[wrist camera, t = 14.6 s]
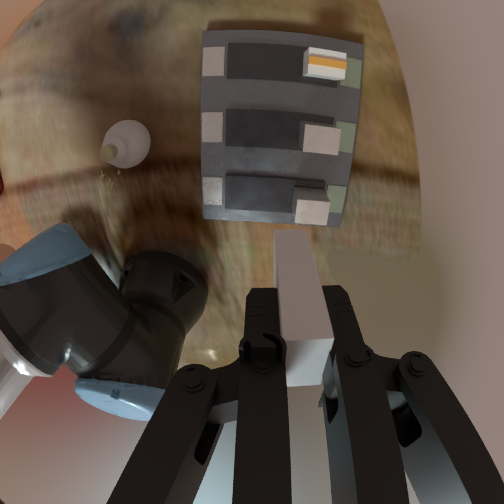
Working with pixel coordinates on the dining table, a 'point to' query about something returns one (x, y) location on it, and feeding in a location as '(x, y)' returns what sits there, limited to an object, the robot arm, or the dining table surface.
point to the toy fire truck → (1, 186)
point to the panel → (275, 128)
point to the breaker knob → (324, 64)
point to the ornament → (125, 145)
